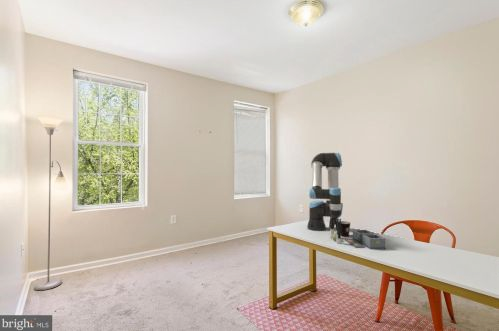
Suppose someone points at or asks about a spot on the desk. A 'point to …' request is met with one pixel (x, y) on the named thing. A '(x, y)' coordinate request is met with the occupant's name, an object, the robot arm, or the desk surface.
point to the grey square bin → (360, 234)
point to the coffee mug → (345, 228)
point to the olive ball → (334, 237)
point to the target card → (354, 243)
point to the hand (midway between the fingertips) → (335, 240)
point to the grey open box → (373, 241)
